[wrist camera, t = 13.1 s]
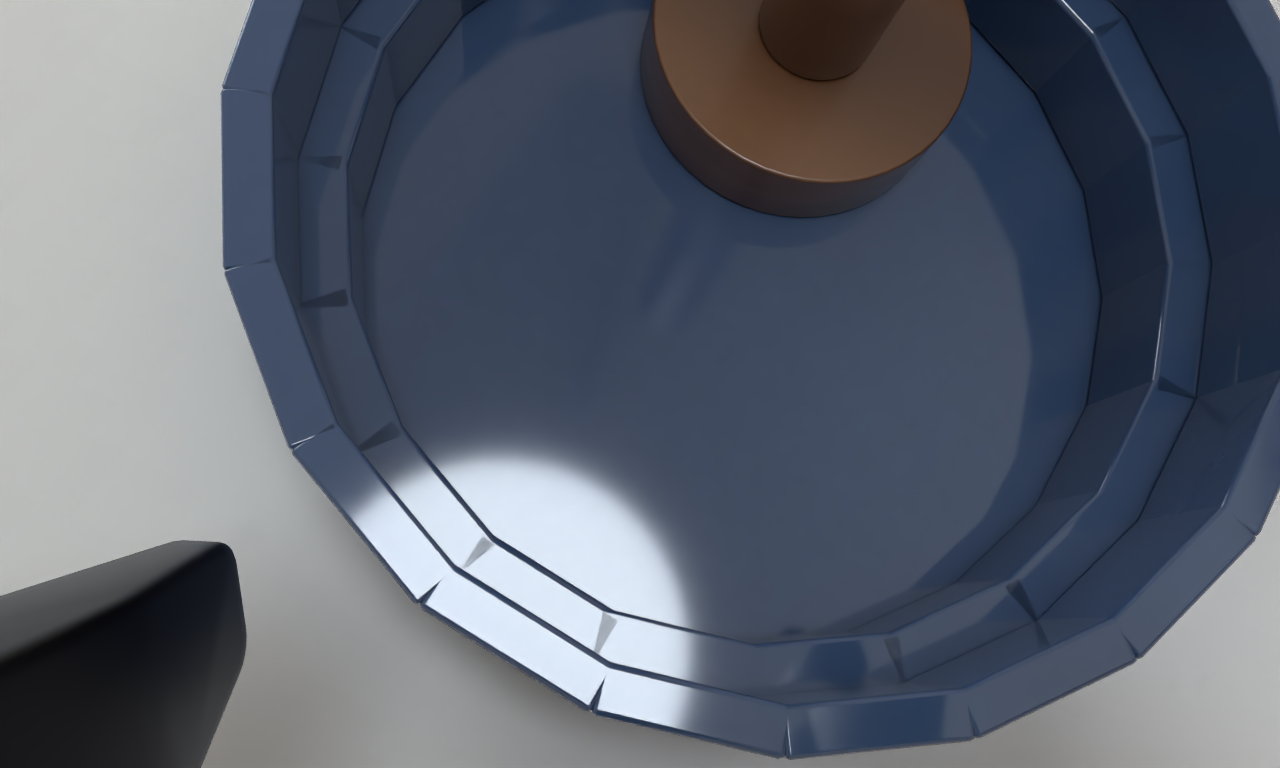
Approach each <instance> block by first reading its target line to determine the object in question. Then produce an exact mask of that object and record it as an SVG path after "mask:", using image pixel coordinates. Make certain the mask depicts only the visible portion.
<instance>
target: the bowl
mask: <svg viewBox="0 0 1280 768" xmlns="http://www.w3.org/2000/svg"><path fill="white" fill-rule="evenodd" d="M964 2H965V5H966V9H967V12H968V15H969V21H970V27H971V33H972V62H971V71H970V77H969V81H968V85H967V88H966V92H965V95H964V97H963V99H962V102H961V104H960V107H959V109H958V111H957V113H956V114H955V116H954V118H953V119H952V121H951V123H950V124H949V126H948V127H947V128H946V130H945V131H944V132H943V133H942V134H941V136H940V137H939V138H938V139H937V140H936V142H935V143H934V144H933V145H932V146H931V147H930V148H929V149H928V150H927V151H926V153H925V154H924V155H923V156H922V157H921V158H920V159H919V160H918V161H917V163H916V164H915V165H914V166H913V167H912V168H911V169H910V170H909V171H908V172H907V174H906V175H905V176H904V177H903V178H902V179H900V180H899V181H898V182H897V183H896V184H895V185H894V186H893V187H892V188H891V189H889V190H888V191H886V192H885V193H883V194H882V195H880V196H879V197H877V198H876V199H874V200H872V201H870V202H868V203H866V204H863V205H861V206H859V207H857V208H854V209H851V210H848V211H844V212H841V213H837V214H832V215H826V216H820V217H789V216H779V215H774V214H769V213H765V212H760V211H757V210H754V209H751V208H748V207H745V206H742V205H740V204H738V203H736V202H734V201H732V200H730V199H727V198H725V197H723V196H722V195H720V194H719V193H717V192H715V191H714V190H712V189H711V188H709V187H708V186H706V185H705V184H704V183H702V182H701V181H700V180H699V179H697V178H696V177H695V176H694V175H693V174H691V173H690V172H689V171H688V170H687V169H686V168H685V167H684V165H683V164H682V163H681V162H680V161H679V160H678V159H677V158H676V157H675V156H674V154H673V153H672V152H671V150H670V149H669V147H668V146H667V145H666V143H665V142H664V140H663V139H662V137H661V135H660V133H659V131H658V130H657V128H656V126H655V124H654V122H653V119H652V117H651V114H650V112H649V109H648V107H647V104H646V100H645V95H644V91H643V87H642V79H641V69H640V64H641V47H642V41H643V36H644V31H645V27H646V23H647V19H648V15H649V12H650V8H651V4H652V0H252V2H251V5H250V8H249V11H248V14H247V17H246V19H245V22H244V25H243V28H242V31H241V34H240V36H239V39H238V42H237V45H236V48H235V51H234V53H233V56H232V59H231V62H230V65H229V68H228V70H227V73H226V76H225V79H224V82H223V85H222V87H223V89H222V92H221V145H222V236H223V268H224V270H225V277H226V280H227V283H228V286H229V288H230V291H231V294H232V296H233V299H234V302H235V305H236V307H237V310H238V313H239V315H240V318H241V321H242V324H243V326H244V329H245V332H246V334H247V337H248V340H249V342H250V345H251V348H252V351H253V353H254V356H255V359H256V361H257V364H258V367H259V370H260V372H261V375H262V378H263V380H264V383H265V386H266V388H267V391H268V394H269V397H270V399H271V402H272V405H273V407H274V410H275V413H276V416H277V418H278V421H279V424H280V426H281V429H282V432H283V434H284V437H285V440H286V443H287V445H288V447H289V448H290V449H291V450H292V454H293V456H294V457H295V458H296V459H297V461H298V462H299V463H300V464H301V465H302V467H303V468H304V469H305V470H306V472H307V473H308V474H309V475H310V476H311V478H312V479H313V480H314V481H315V483H316V484H317V485H318V486H319V487H320V489H321V490H322V491H323V492H324V494H325V495H326V496H327V497H328V498H329V500H330V501H331V502H332V503H333V505H334V506H335V507H336V508H337V509H338V511H339V512H340V513H341V514H342V516H343V517H344V518H345V519H346V520H347V522H348V523H349V524H350V525H351V527H352V528H353V529H354V530H355V531H356V533H357V534H358V535H359V536H360V538H361V539H362V540H363V541H364V542H365V544H366V545H367V546H368V547H369V548H370V550H371V551H372V552H373V553H374V555H375V556H376V557H377V558H378V559H379V561H380V562H381V563H382V564H383V566H384V567H385V568H386V569H387V570H388V572H389V573H390V574H391V575H392V577H393V578H394V579H395V580H396V581H397V583H398V584H399V585H400V586H401V588H402V589H403V590H404V591H405V592H406V594H407V595H408V596H409V597H410V599H411V600H412V601H413V602H414V603H416V604H418V605H420V607H421V608H422V610H424V611H425V612H427V613H428V614H430V615H432V616H433V617H435V618H436V619H438V620H440V621H441V622H443V623H444V624H446V625H448V626H449V627H451V628H452V629H454V630H456V631H457V632H459V633H460V634H462V635H464V636H465V637H467V638H468V639H470V640H472V641H473V642H475V643H476V644H478V645H480V646H481V647H483V648H484V649H486V650H488V651H489V652H491V653H492V654H494V655H496V656H497V657H499V658H500V659H502V660H504V661H505V662H507V663H508V664H510V665H512V666H513V667H515V668H516V669H518V670H520V671H521V672H523V673H524V674H526V675H528V676H529V677H531V678H532V679H534V680H536V681H537V682H539V683H540V684H542V685H544V686H545V687H547V688H548V689H550V690H552V691H553V692H555V693H556V694H558V695H560V696H561V697H563V698H564V699H566V700H568V701H569V702H571V703H572V704H574V705H576V706H577V707H579V708H580V709H582V710H584V711H590V712H591V713H593V714H594V715H596V716H599V717H603V718H607V719H611V720H616V721H620V722H624V723H628V724H632V725H637V726H641V727H645V728H649V729H654V730H658V731H662V732H666V733H671V734H675V735H679V736H683V737H688V738H692V739H696V740H700V741H704V742H709V743H713V744H717V745H721V746H726V747H730V748H734V749H738V750H743V751H747V752H751V753H755V754H760V755H764V756H768V757H772V758H776V759H780V758H783V757H784V758H787V759H790V760H794V759H803V758H813V757H823V756H832V755H842V754H852V753H861V752H871V751H880V750H890V749H900V748H909V747H919V746H929V745H938V744H948V743H957V742H967V741H971V740H973V739H974V738H981V737H984V736H986V735H988V734H990V733H992V732H994V731H996V730H998V729H1000V728H1002V727H1004V726H1006V725H1008V724H1010V723H1012V722H1015V721H1017V720H1019V719H1021V718H1023V717H1025V716H1027V715H1029V714H1031V713H1033V712H1035V711H1037V710H1039V709H1041V708H1044V707H1046V706H1048V705H1050V704H1052V703H1054V702H1056V701H1058V700H1060V699H1062V698H1064V697H1066V696H1068V695H1070V694H1072V693H1075V692H1077V691H1079V690H1081V689H1083V688H1085V687H1087V686H1089V685H1091V684H1093V683H1095V682H1097V681H1099V680H1101V679H1103V678H1106V677H1108V676H1110V675H1112V674H1114V673H1116V672H1118V671H1120V670H1122V669H1124V668H1126V667H1128V666H1130V665H1132V664H1134V662H1135V661H1136V659H1140V658H1142V657H1143V656H1144V655H1145V654H1146V653H1147V652H1148V651H1149V650H1150V649H1151V648H1152V647H1153V646H1154V645H1155V644H1156V643H1157V642H1158V640H1159V639H1160V638H1161V637H1162V636H1163V635H1164V634H1165V633H1166V632H1167V631H1168V630H1169V629H1170V628H1171V627H1172V626H1173V625H1174V624H1175V623H1176V622H1177V621H1178V620H1179V619H1180V618H1181V617H1182V616H1183V615H1184V614H1185V612H1186V611H1187V610H1188V609H1189V608H1190V607H1191V606H1192V605H1193V604H1194V603H1195V602H1196V601H1197V600H1198V599H1199V598H1200V597H1201V596H1202V595H1203V594H1204V593H1205V592H1206V591H1207V590H1208V589H1209V588H1210V587H1211V586H1212V585H1213V583H1214V582H1215V581H1216V580H1217V579H1218V578H1219V577H1220V576H1221V575H1222V574H1223V573H1224V572H1225V571H1226V570H1227V569H1228V568H1229V567H1230V566H1231V565H1232V564H1233V563H1234V562H1235V561H1236V560H1237V559H1238V558H1239V557H1240V555H1241V554H1242V553H1243V552H1244V551H1245V550H1246V549H1247V548H1248V547H1249V546H1250V545H1251V544H1252V543H1253V542H1254V541H1255V536H1257V535H1258V534H1259V533H1260V532H1261V530H1262V527H1263V525H1264V523H1265V521H1266V518H1267V516H1268V514H1269V512H1270V509H1271V507H1272V505H1273V503H1274V500H1275V498H1276V496H1277V494H1278V492H1279V489H1280V20H1279V18H1278V16H1277V14H1276V12H1275V10H1274V8H1273V7H1272V5H1271V3H1270V1H1269V0H964Z"/></svg>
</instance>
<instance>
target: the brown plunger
mask: <svg viewBox="0 0 1280 768" xmlns="http://www.w3.org/2000/svg"><path fill="white" fill-rule="evenodd" d="M971 62H972V33H971V27H970V21H969V15H968V12H967V9H966V5H965V2H964V0H652V4H651V8H650V12H649V15H648V19H647V23H646V27H645V31H644V36H643V41H642V47H641V64H640V69H641V79H642V87H643V91H644V95H645V100H646V104H647V107H648V109H649V112H650V114H651V117H652V119H653V122H654V124H655V126H656V128H657V130H658V131H659V133H660V135H661V137H662V139H663V140H664V142H665V143H666V145H667V146H668V147H669V149H670V150H671V152H672V153H673V154H674V156H675V157H676V158H677V159H678V160H679V161H680V162H681V163H682V164H683V165H684V167H685V168H686V169H687V170H688V171H689V172H690V173H691V174H693V175H694V176H695V177H696V178H697V179H699V180H700V181H701V182H702V183H704V184H705V185H706V186H708V187H709V188H711V189H712V190H714V191H715V192H717V193H719V194H720V195H722V196H723V197H725V198H727V199H730V200H732V201H734V202H736V203H738V204H740V205H742V206H745V207H748V208H751V209H754V210H757V211H760V212H765V213H769V214H774V215H779V216H789V217H820V216H826V215H832V214H837V213H841V212H844V211H848V210H851V209H854V208H857V207H859V206H861V205H863V204H866V203H868V202H870V201H872V200H874V199H876V198H877V197H879V196H880V195H882V194H883V193H885V192H886V191H888V190H889V189H891V188H892V187H893V186H894V185H895V184H896V183H897V182H898V181H899V180H900V179H902V178H903V177H904V176H905V175H906V174H907V172H908V171H909V170H910V169H911V168H912V167H913V166H914V165H915V164H916V163H917V161H918V160H919V159H920V158H921V157H922V156H923V155H924V154H925V153H926V151H927V150H928V149H929V148H930V147H931V146H932V145H933V144H934V143H935V142H936V140H937V139H938V138H939V137H940V136H941V134H942V133H943V132H944V131H945V130H946V128H947V127H948V126H949V124H950V123H951V121H952V119H953V118H954V116H955V114H956V113H957V111H958V109H959V107H960V104H961V102H962V99H963V97H964V95H965V92H966V88H967V85H968V81H969V77H970V71H971Z"/></svg>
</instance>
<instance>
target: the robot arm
mask: <svg viewBox="0 0 1280 768" xmlns="http://www.w3.org/2000/svg"><path fill="white" fill-rule="evenodd" d="M246 637H247V635H246V625H245V618H244V612H243V605H242V598H241V591H240V584H239V577H238V571H237V564H236V559H235V556H234V554H233V551H232V550H231V548H230V547H229V546H228V545H226V544H224V543H221V542H206V541H186V540H182V541H173V542H170V543H166V544H163V545H160V546H157V547H154V548H151V549H147V550H144V551H141V552H138V553H135V554H132V555H129V556H125V557H122V558H119V559H116V560H113V561H110V562H106V563H103V564H100V565H97V566H94V567H91V568H87V569H84V570H81V571H78V572H75V573H72V574H69V575H65V576H62V577H59V578H56V579H53V580H50V581H46V582H43V583H40V584H37V585H34V586H31V587H27V588H24V589H21V590H18V591H15V592H12V593H9V594H5V595H2V596H0V768H201V766H202V763H203V761H204V759H205V756H206V754H207V751H208V749H209V746H210V744H211V742H212V739H213V737H214V734H215V732H216V729H217V727H218V725H219V722H220V720H221V717H222V715H223V712H224V710H225V707H226V705H227V703H228V700H229V698H230V695H231V693H232V690H233V688H234V686H235V683H236V681H237V678H238V676H239V673H240V671H241V668H242V665H243V661H244V657H245V651H246Z"/></svg>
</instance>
